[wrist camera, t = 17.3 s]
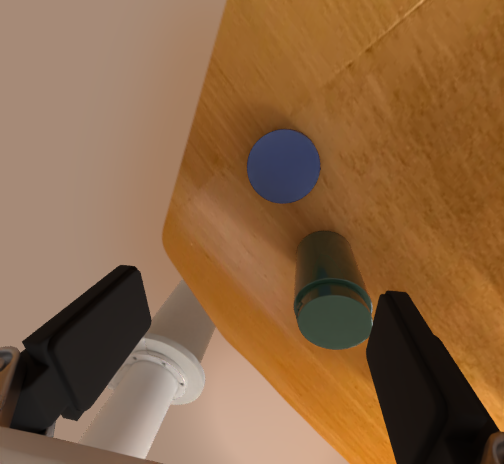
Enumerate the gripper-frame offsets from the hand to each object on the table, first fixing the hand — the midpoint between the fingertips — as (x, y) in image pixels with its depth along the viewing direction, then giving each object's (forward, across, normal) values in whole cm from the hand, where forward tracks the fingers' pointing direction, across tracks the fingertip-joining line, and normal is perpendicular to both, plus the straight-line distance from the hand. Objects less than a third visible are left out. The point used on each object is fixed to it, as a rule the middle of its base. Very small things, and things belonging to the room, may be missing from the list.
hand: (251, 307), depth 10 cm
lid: (+16, 0, -3) cm, 17 cm away
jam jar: (+18, -5, +7) cm, 20 cm away
